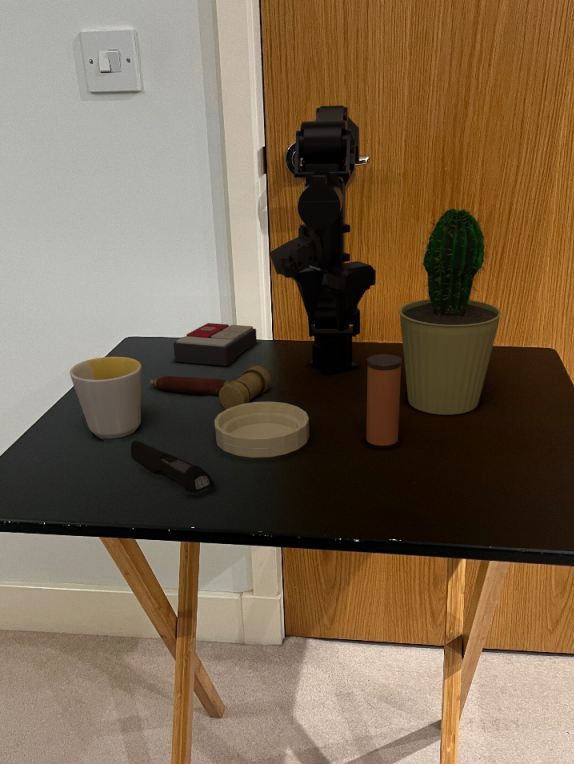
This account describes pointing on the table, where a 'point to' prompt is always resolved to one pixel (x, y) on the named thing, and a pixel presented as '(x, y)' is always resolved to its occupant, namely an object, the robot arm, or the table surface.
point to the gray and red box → (214, 344)
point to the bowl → (262, 429)
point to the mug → (109, 394)
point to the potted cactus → (449, 321)
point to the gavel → (220, 386)
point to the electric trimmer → (171, 467)
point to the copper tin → (383, 399)
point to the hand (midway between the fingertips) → (326, 323)
